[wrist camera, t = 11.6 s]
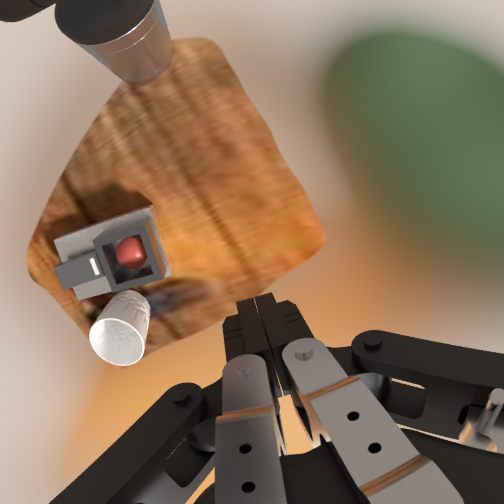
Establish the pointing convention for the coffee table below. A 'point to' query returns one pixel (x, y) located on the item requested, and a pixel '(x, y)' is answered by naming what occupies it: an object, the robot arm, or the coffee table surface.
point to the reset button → (131, 252)
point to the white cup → (121, 328)
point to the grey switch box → (105, 243)
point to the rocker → (79, 270)
